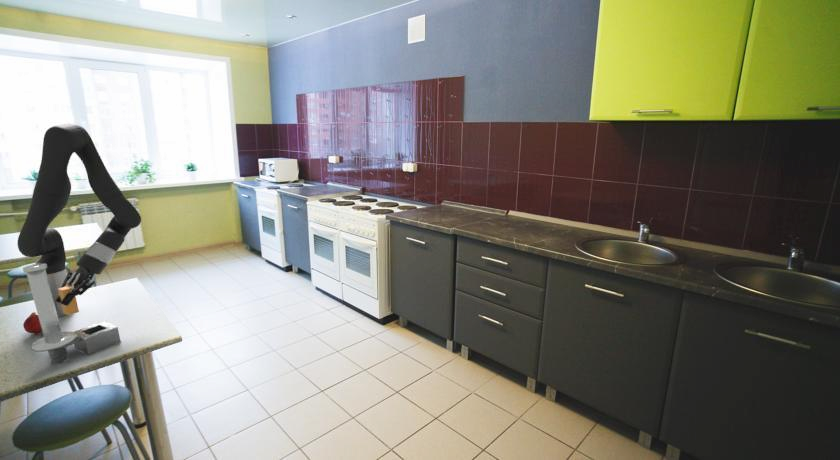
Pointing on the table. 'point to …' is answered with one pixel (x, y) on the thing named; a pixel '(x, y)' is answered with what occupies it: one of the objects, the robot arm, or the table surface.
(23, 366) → the table surface
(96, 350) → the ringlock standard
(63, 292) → the orange block
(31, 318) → the pomegranate
